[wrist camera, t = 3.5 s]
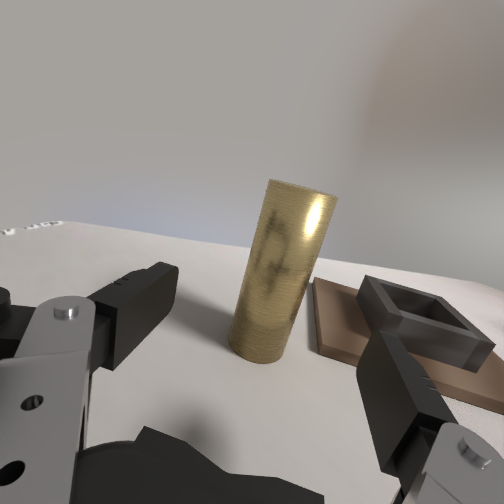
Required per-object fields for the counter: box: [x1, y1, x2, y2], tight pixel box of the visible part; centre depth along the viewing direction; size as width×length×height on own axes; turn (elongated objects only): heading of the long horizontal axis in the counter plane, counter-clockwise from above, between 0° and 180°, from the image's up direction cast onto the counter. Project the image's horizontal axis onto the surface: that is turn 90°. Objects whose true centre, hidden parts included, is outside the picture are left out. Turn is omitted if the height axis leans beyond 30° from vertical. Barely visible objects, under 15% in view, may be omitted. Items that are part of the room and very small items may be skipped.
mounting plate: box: [312, 275, 504, 415], centre depth 25 cm, size 18×14×4 cm
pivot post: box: [228, 179, 338, 364], centre depth 18 cm, size 4×4×12 cm
